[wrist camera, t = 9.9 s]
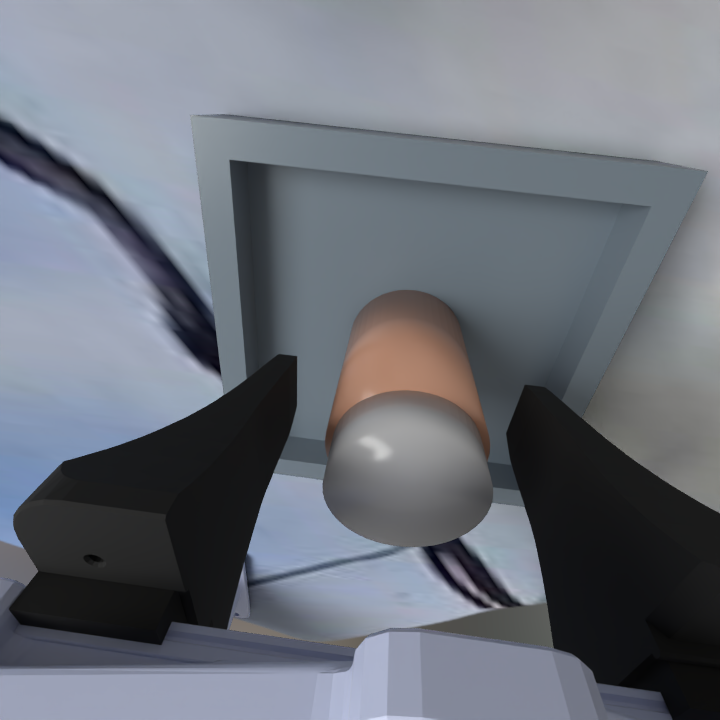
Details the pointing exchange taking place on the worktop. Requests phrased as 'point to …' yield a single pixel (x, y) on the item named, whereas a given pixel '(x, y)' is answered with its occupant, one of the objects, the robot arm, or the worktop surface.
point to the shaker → (407, 427)
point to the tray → (426, 258)
